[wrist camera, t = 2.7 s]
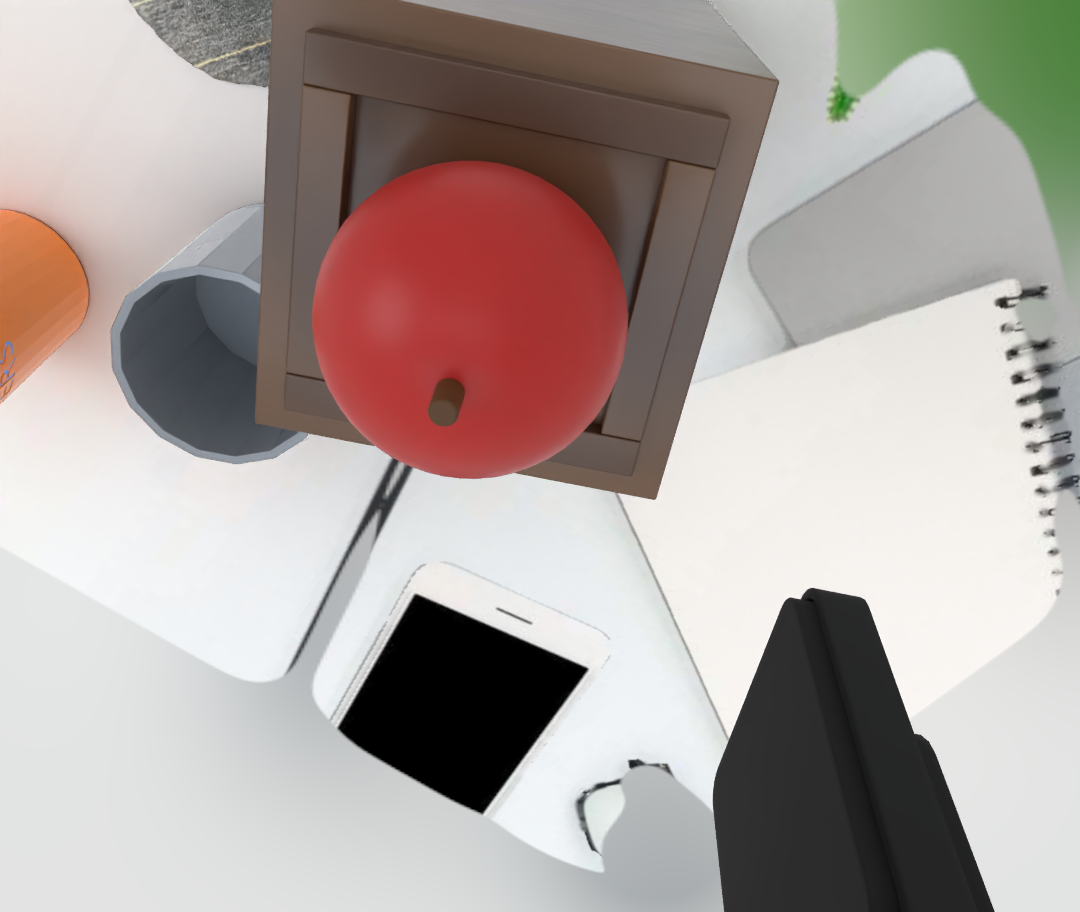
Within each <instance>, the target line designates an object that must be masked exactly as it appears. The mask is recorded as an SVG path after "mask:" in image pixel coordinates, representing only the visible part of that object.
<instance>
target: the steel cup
mask: <svg viewBox="0 0 1080 912" xmlns="http://www.w3.org/2000/svg"><path fill="white" fill-rule="evenodd" d="M263 214H264V204H255V205H249V206H245V207H242V208H238V209H236V210H234V211H232V212H229V213H227V214H226V215H224V216H223V217H221V218H220V219H219V220H217V221H216V222H215V223H214V224H212V225H211V226H210V227H208V228H207V229H206V230H204V231H203V232H202V233H201V234H199V235H198V236H197V237H196V238H195V239H193V240H192V241H191V242H190V243H189V244H187V245H186V246H185V247H184V248H183V249H181V250H180V251H179V252H178V253H177V254H176V255H174V256H173V257H172V258H171V259H170V260H168V261H167V262H166V263H165V264H164V265H162V266H161V267H160V268H159V269H158V270H156V271H155V272H154V273H153V274H152V275H150V276H149V277H148V278H147V279H146V280H144V281H143V282H142V283H141V284H140V285H138V286H137V287H136V288H135V289H134V290H132V291H131V292H130V293H129V294H128V295H127V296H126V297H125V299H124V301H123V303H122V306H121V308H120V310H119V312H118V314H117V317H116V319H115V321H114V323H113V325H112V328H111V353H112V368H113V372H114V374H115V376H116V378H117V380H118V382H119V384H120V387H121V389H122V391H123V393H124V395H125V397H126V399H127V402H128V404H129V405H130V407H131V408H132V409H133V410H134V411H135V412H136V413H137V414H138V415H139V416H140V417H141V418H142V419H143V420H144V421H145V422H146V423H147V424H148V426H149V427H150V428H151V429H152V430H153V431H154V432H155V433H156V434H157V435H158V436H160V437H161V438H163V439H165V440H167V441H168V442H170V443H172V444H174V445H176V446H178V447H179V448H181V449H183V450H185V451H187V452H189V453H191V454H192V455H194V456H197V457H201V458H206V459H211V460H216V461H222V462H227V463H232V464H242V463H248V462H254V461H261V460H267V459H273V458H276V457H277V456H279V455H280V454H282V453H284V452H285V451H287V450H288V449H290V448H292V447H293V446H295V445H296V444H298V443H299V442H301V441H303V440H304V439H305V438H306V436H307V435H308V433H304V432H299V431H294V430H288V429H283V428H278V427H273V426H268V425H262V424H257V423H255V405H256V381H257V357H258V333H259V309H260V286H261V262H262V238H263Z"/></svg>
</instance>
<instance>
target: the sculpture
mask: <svg viewBox="0 0 1080 912" xmlns="http://www.w3.org/2000/svg"><path fill="white" fill-rule="evenodd" d="M129 1H130V3H131V4H132V5H133V6H134V8H135V9H136V11H137V13H138V14H139V15H140V16H141V17H142V19H143V20H144V21H145V22H146V23H148V24H149V25H150V26H151V27H152V28H153V29H154V31H155V32H156V34H157V35H158V36H159V37H160V38H161V39H162V40H163V41H164V42H165V43H166V44H167V45H169V46H170V47H171V48H173V50H174V51H175V52H176V53H177V54H178V55H179V56H181V57H182V58H184V59H185V60H186V61H188V62H189V63H191V64H192V65H193V66H194V67H196V68H199V69H201V70H203V71H205V72H206V73H208V74H209V75H210V76H212V77H213V78H215V79H219V80H224V81H228V82H234V83H238V84H240V83H243V84H253V85H257V86H262V87H266V86H269V71H270V47H271V24H272V0H129Z"/></svg>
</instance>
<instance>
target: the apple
mask: <svg viewBox="0 0 1080 912" xmlns="http://www.w3.org/2000/svg"><path fill="white" fill-rule="evenodd" d="M312 329H313V336H314V344H315V350H316V355H317V359H318V362H319V366H320V369H321V372H322V375H323V377H324V380H325V382H326V384H327V387H328V389H329V391H330V392H331V394H332V396H333V397H334V399H335V401H336V403H337V404H338V406H339V408H340V409H341V411H342V412H343V413H344V414H345V416H346V417H347V418H348V420H349V421H350V422H351V424H352V425H353V426H354V427H355V428H356V429H357V430H358V431H359V432H360V433H361V434H362V435H363V436H364V437H365V438H366V439H367V440H369V441H370V442H371V443H372V444H374V445H375V446H376V447H377V448H379V449H380V450H382V451H383V452H385V453H386V454H388V455H389V456H391V457H393V458H395V459H397V460H398V461H400V462H402V463H404V464H406V465H408V466H411V467H414V468H417V469H419V470H422V471H425V472H428V473H432V474H436V475H441V476H446V477H454V478H467V479H480V478H491V477H498V476H503V475H507V474H512V473H515V472H518V471H521V470H524V469H527V468H529V467H532V466H534V465H536V464H538V463H540V462H542V461H544V460H546V459H549V458H550V457H552V456H553V455H555V454H557V453H558V452H560V451H561V450H563V449H564V448H565V447H567V446H568V445H569V444H570V443H571V442H572V441H574V440H575V439H576V438H577V437H578V436H579V435H580V434H581V433H582V432H583V431H584V430H585V429H586V428H587V427H588V426H589V425H590V423H591V422H592V421H593V420H594V419H595V418H596V416H597V415H598V413H599V412H600V410H601V409H602V408H603V406H604V405H605V403H606V401H607V399H608V397H609V395H610V393H611V391H612V389H613V387H614V385H615V383H616V381H617V379H618V375H619V372H620V369H621V366H622V363H623V359H624V354H625V348H626V343H627V335H628V309H627V299H626V293H625V289H624V285H623V281H622V277H621V273H620V269H619V267H618V264H617V262H616V259H615V257H614V254H613V252H612V250H611V248H610V246H609V244H608V243H607V241H606V239H605V237H604V236H603V234H602V233H601V231H600V230H599V229H598V227H597V226H596V225H595V223H594V222H593V221H592V219H591V218H590V217H589V216H588V214H587V213H586V212H585V211H584V210H583V209H582V208H581V207H580V206H579V205H578V204H577V203H576V202H575V201H574V200H573V199H571V198H570V197H569V196H568V195H566V194H565V193H564V192H562V191H561V190H560V189H558V188H557V187H556V186H554V185H552V184H550V183H549V182H547V181H545V180H544V179H542V178H540V177H538V176H536V175H533V174H531V173H529V172H526V171H524V170H521V169H519V168H515V167H511V166H508V165H504V164H500V163H493V162H486V161H453V162H446V163H439V164H434V165H431V166H427V167H423V168H420V169H416V170H414V171H411V172H409V173H407V174H404V175H402V176H400V177H397V178H395V179H394V180H392V181H391V182H389V183H387V184H386V185H384V186H382V187H381V188H379V189H378V190H377V191H376V192H374V193H373V194H372V195H371V196H370V197H368V198H367V199H366V200H365V201H364V202H362V203H361V204H360V205H359V206H358V207H357V208H356V209H355V210H354V211H353V213H352V214H351V215H350V216H349V217H348V218H347V219H346V220H345V222H344V223H343V225H342V226H341V228H340V229H339V231H338V232H337V234H336V235H335V237H334V239H333V240H332V242H331V244H330V246H329V248H328V250H327V253H326V255H325V257H324V259H323V261H322V264H321V267H320V271H319V274H318V277H317V281H316V287H315V293H314V300H313V307H312Z"/></svg>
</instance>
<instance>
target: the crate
mask: <svg viewBox="0 0 1080 912" xmlns="http://www.w3.org/2000/svg"><path fill="white" fill-rule="evenodd" d="M778 85H779V80H778V79H777V78H776V77H775V76H774V75H773V74H772V73H771V71H770V70H769V69H768V68H767V67H766V66H765V65H764V64H763V63H762V61H761V60H760V59H759V58H758V57H757V56H756V55H755V54H754V53H753V51H752V50H751V49H750V48H749V47H748V46H747V45H746V44H745V43H744V41H743V40H742V39H741V38H740V37H739V36H738V35H737V34H736V33H735V31H734V30H733V29H732V28H731V27H730V26H729V25H728V24H727V22H726V21H725V20H724V19H723V18H722V17H721V16H720V15H719V14H718V12H717V11H716V10H715V9H714V8H713V7H712V6H711V5H710V4H709V2H708V1H707V0H272V24H271V47H270V71H269V95H268V119H267V143H266V167H265V190H264V214H263V238H262V262H261V286H260V309H259V333H258V357H257V381H256V405H255V423H257V424H262V425H268V426H273V427H278V428H283V429H288V430H294V431H299V432H304V433H309V434H314V435H320V436H325V437H330V438H335V439H340V440H346V441H351V442H356V443H361V444H366V445H372V446H375V445H374V444H372V443H371V442H370V441H369V440H367V439H366V438H365V437H364V436H363V435H362V434H361V433H360V432H359V431H358V430H357V429H356V428H355V427H354V426H353V425H352V424H351V422H350V421H349V420H348V418H347V417H346V416H345V414H344V413H343V412H342V411H341V409H340V408H339V406H338V404H337V403H336V401H335V399H334V397H333V396H332V394H331V392H330V391H329V389H328V387H327V384H326V382H325V380H324V377H323V375H322V372H321V369H320V366H319V362H318V359H317V355H316V350H315V344H314V336H313V329H312V307H313V300H314V293H315V287H316V281H317V277H318V274H319V271H320V267H321V264H322V261H323V259H324V257H325V255H326V253H327V250H328V248H329V246H330V244H331V242H332V240H333V239H334V237H335V235H336V234H337V232H338V231H339V229H340V228H341V226H342V225H343V223H344V222H345V220H346V219H347V218H348V217H349V216H350V215H351V214H352V213H353V211H354V210H355V209H356V208H357V207H358V206H359V205H360V204H361V203H362V202H364V201H365V200H366V199H367V198H368V197H370V196H371V195H372V194H373V193H374V192H376V191H377V190H378V189H379V188H381V187H382V186H384V185H386V184H387V183H389V182H391V181H392V180H394V179H395V178H397V177H400V176H402V175H404V174H407V173H409V172H411V171H414V170H416V169H420V168H423V167H427V166H431V165H434V164H439V163H446V162H453V161H486V162H493V163H500V164H504V165H508V166H511V167H515V168H519V169H521V170H524V171H526V172H529V173H531V174H533V175H536V176H538V177H540V178H542V179H544V180H545V181H547V182H549V183H550V184H552V185H554V186H556V187H557V188H558V189H560V190H561V191H562V192H564V193H565V194H566V195H568V196H569V197H570V198H571V199H573V200H574V201H575V202H576V203H577V204H578V205H579V206H580V207H581V208H582V209H583V210H584V211H585V212H586V213H587V214H588V216H589V217H590V218H591V219H592V221H593V222H594V223H595V225H596V226H597V227H598V229H599V230H600V231H601V233H602V234H603V236H604V237H605V239H606V241H607V243H608V244H609V246H610V248H611V250H612V252H613V254H614V257H615V259H616V262H617V264H618V267H619V269H620V273H621V277H622V281H623V285H624V289H625V293H626V299H627V309H628V335H627V343H626V348H625V354H624V359H623V363H622V366H621V369H620V372H619V375H618V379H617V381H616V383H615V385H614V387H613V389H612V391H611V393H610V395H609V397H608V399H607V401H606V403H605V405H604V406H603V408H602V409H601V410H600V412H599V413H598V415H597V416H596V418H595V419H594V420H593V421H592V422H591V423H590V425H589V426H588V427H587V428H586V429H585V430H584V431H583V432H582V433H581V434H580V435H579V436H578V437H577V438H576V439H575V440H574V441H572V442H571V443H570V444H569V445H568V446H567V447H565V448H564V449H563V450H561V451H560V452H558V453H557V454H555V455H553V456H552V457H550V458H549V459H546V460H544V461H542V462H540V463H538V464H536V465H534V466H532V467H529V468H527V469H524V470H521V471H518V472H515V473H517V474H523V475H528V476H533V477H538V478H543V479H549V480H554V481H559V482H564V483H569V484H575V485H580V486H585V487H590V488H595V489H601V490H606V491H611V492H616V493H621V494H627V495H632V496H637V497H642V498H647V499H653V500H655V499H656V497H657V494H658V491H659V487H660V484H661V481H662V477H663V474H664V470H665V467H666V464H667V460H668V457H669V454H670V450H671V447H672V443H673V440H674V437H675V433H676V430H677V426H678V423H679V420H680V416H681V413H682V410H683V406H684V403H685V399H686V396H687V393H688V389H689V386H690V382H691V379H692V376H693V372H694V369H695V366H696V362H697V359H698V355H699V352H700V349H701V345H702V342H703V338H704V335H705V332H706V328H707V325H708V322H709V318H710V315H711V311H712V308H713V305H714V301H715V298H716V294H717V291H718V288H719V284H720V281H721V278H722V274H723V271H724V267H725V264H726V261H727V257H728V254H729V251H730V247H731V244H732V240H733V237H734V234H735V230H736V227H737V223H738V220H739V217H740V213H741V210H742V207H743V203H744V200H745V196H746V193H747V190H748V186H749V183H750V179H751V176H752V173H753V169H754V166H755V163H756V159H757V156H758V152H759V149H760V146H761V142H762V139H763V135H764V132H765V129H766V125H767V122H768V119H769V115H770V112H771V108H772V105H773V102H774V98H775V95H776V92H777V88H778Z"/></svg>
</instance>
